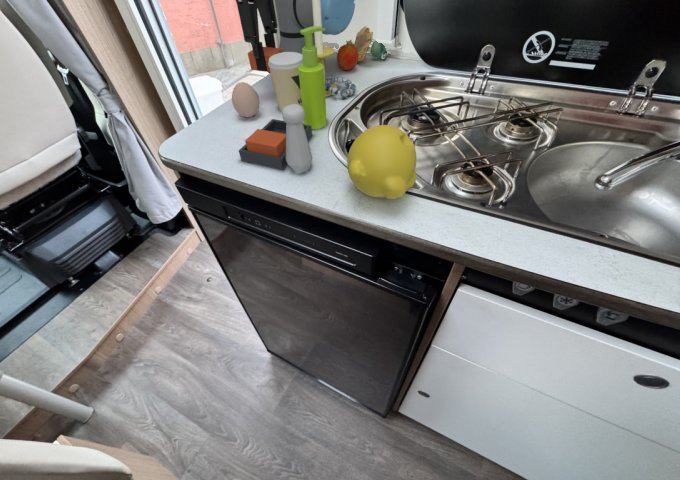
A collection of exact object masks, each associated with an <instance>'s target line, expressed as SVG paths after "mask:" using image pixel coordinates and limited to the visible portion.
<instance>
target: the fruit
mask: <svg viewBox="0 0 680 480" xmlns="http://www.w3.org/2000/svg"><path fill="white" fill-rule="evenodd" d="M347 41H348V40H346V43H347ZM336 62H337V65H338V67H340V68H341V69H342V70H343V71H345V72H347V71H351V70H353V69H354V68H355V67H356V66H357V64H358V62H359V61H358V51H357V49H356V47H355V46H354V45H352V44H348V43H347V44H343V45H341V46H340V47H339V48H338V50H337V54H336Z"/></svg>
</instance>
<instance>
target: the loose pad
mask: <svg viewBox="0 0 680 480" xmlns="http://www.w3.org/2000/svg"><path fill="white" fill-rule="evenodd" d="M263 50H264V56H265V61H266V66H267V71H266V72H268V73H271V72H270V67H269V65H268V62H269V58H270V57H271V56H273V55H275V54H278V53H283V48H279V47H276V48H272V47H266V46H263ZM247 57H248V61H249V65H250V70H251V71H257V72H259V71H258V70H257V65H256V60H255V57H254V53H253V49H252V50H250V51H248V52H247ZM266 72H265V73H266Z"/></svg>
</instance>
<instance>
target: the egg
mask: <svg viewBox="0 0 680 480" xmlns="http://www.w3.org/2000/svg"><path fill="white" fill-rule="evenodd" d="M232 89H233V90H232V93H231V104H232V106H233V108H234V110H235V111H236V112H237V114H239V115H240V116H242V117H243V118H251V117H254V116H255V115H256V114H257V113H258V112H259V109H260V104H261V103H260V102H261V101H260V97H259V94H258V92H257V91H256V89H255V88H254V87H253V86H252V85H251V84H250V83H248V82H244V81H241V82H238V83H237V84H235V85H234V87H233V88H232Z"/></svg>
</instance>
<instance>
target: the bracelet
mask: <svg viewBox="0 0 680 480" xmlns="http://www.w3.org/2000/svg"><path fill="white" fill-rule="evenodd" d="M324 82H325V90H326V91H331V93H332V95H331V96H337V95H340V96H341V97H342V98H345V97H347V95H348V96H353V95H354V94H355V91H356V89H357V86H356V84H355V83H352V80H351V79H344V78H343V76H342V75H341V76H338V77H334V76H333V75H330V76H329V77H328V78H325V80H324ZM335 83H337V84H338V85H342V84H344V86H345V87H346V88H348V89H346V88H342V89H340V90H339V89H337V88H338V87H337V88H336V87H334V88H332V87H331V85H330V84H335Z"/></svg>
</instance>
